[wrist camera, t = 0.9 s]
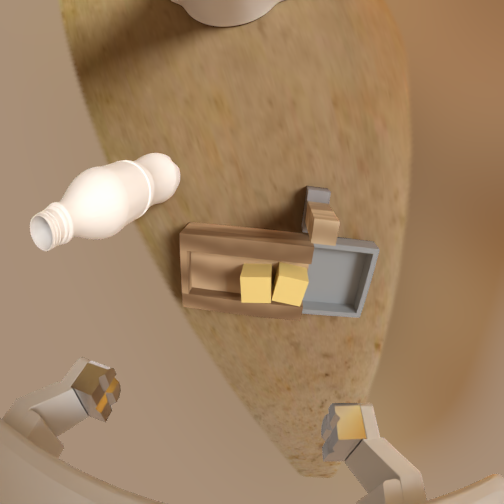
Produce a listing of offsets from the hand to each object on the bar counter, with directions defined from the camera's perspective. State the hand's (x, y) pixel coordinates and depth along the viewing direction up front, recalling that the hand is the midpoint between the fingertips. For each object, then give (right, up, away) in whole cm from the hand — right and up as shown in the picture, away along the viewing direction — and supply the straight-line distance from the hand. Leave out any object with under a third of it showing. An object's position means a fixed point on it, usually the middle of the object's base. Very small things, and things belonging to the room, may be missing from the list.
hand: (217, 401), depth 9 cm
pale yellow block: (+2, +1, +30) cm, 30 cm away
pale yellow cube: (+6, +1, +30) cm, 30 cm away
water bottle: (-12, +17, +30) cm, 37 cm away
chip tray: (+14, +2, +34) cm, 37 cm away
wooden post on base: (+10, +12, +30) cm, 34 cm away
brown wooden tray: (0, +3, +35) cm, 35 cm away
